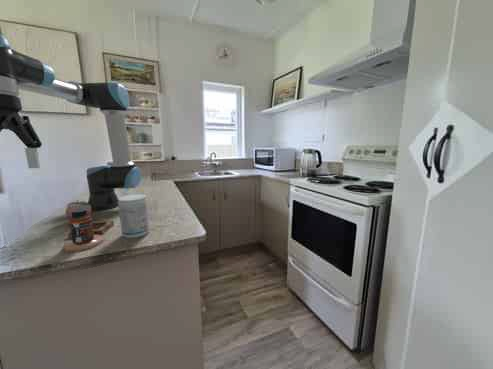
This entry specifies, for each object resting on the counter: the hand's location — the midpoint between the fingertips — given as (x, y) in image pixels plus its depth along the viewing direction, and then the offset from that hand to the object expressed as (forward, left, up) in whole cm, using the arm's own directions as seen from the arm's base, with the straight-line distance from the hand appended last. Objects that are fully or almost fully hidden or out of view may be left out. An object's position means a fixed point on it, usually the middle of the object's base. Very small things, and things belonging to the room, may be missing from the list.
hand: (16, 170), depth 62 cm
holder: (-16, +9, -27) cm, 33 cm away
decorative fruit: (-31, -3, -27) cm, 41 cm away
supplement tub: (-10, +28, -27) cm, 40 cm away
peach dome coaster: (-4, +12, -27) cm, 30 cm away
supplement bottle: (-4, +12, -26) cm, 29 cm away
